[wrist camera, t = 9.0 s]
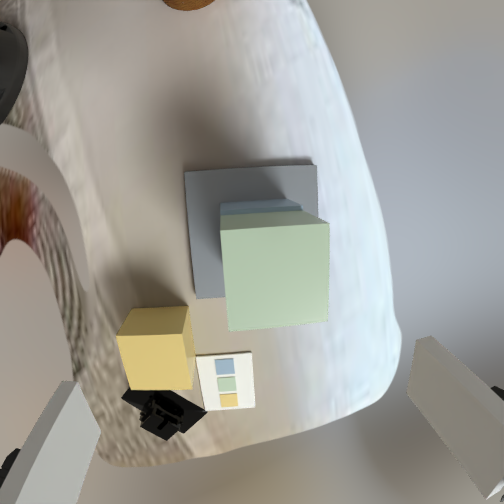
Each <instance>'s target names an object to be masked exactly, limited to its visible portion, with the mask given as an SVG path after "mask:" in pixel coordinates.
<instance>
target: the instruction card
mask: <svg viewBox="0 0 504 504" xmlns="http://www.w3.org/2000/svg"><path fill="white" fill-rule="evenodd" d="M196 362H197V368H198V373H199V379H200V385H201V390H202V396H203V401H204V406H205V411H210V410H226V409H239V408H250V407H255V395H254V381H253V366H252V352H247V353H235V354H222V355H207V356H196Z"/></svg>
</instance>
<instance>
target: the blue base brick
mask: <svg viewBox="0 0 504 504" xmlns="http://www.w3.org/2000/svg"><path fill="white" fill-rule="evenodd" d="M299 210H303V205H301V204H298V203H296V202H294V201H291V200H289V199H270V200H253V201H238V202H224V203H220V214H221V215H234V214H249V213H264V212H281V211H299Z"/></svg>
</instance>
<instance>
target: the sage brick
mask: <svg viewBox="0 0 504 504" xmlns="http://www.w3.org/2000/svg"><path fill="white" fill-rule="evenodd" d="M220 235H221V247H222V260H223V272H224V284H225V295H226V306H227V317H228V327H229V332H230V331H242V330H254V329H264V328H274V327H284V326H293V325H301V324H310V323H318V322H325V321H328V300H329V223H328V222H326V221H324V220H322V219H320V218H318V217H316V216H314V215H312V214H310V213H308V212H306V211H304V210H299V211H281V212H264V213H249V214H234V215H221V217H220Z"/></svg>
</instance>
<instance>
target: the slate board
mask: <svg viewBox="0 0 504 504" xmlns="http://www.w3.org/2000/svg"><path fill="white" fill-rule="evenodd" d="M184 175H185V189H186V202H187V214H188V225H189V236H190V246H191V256H192V265H193V274H194V283H195V291H196V299H205V298H218V297H226V295H225V284H224V272H223V260H222V247H221V235H220V217H221V214H220V203H224V202H238V201H253V200H270V199H289V200H291V201H294V202H296V203H298V204H301V205H303V210H304V211H306V212H308V213H310V214H312V215H314V216H316V217H318V187H317V165H292V166H265V167H246V168H229V169H215V170H203V171H191V172H184Z"/></svg>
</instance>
